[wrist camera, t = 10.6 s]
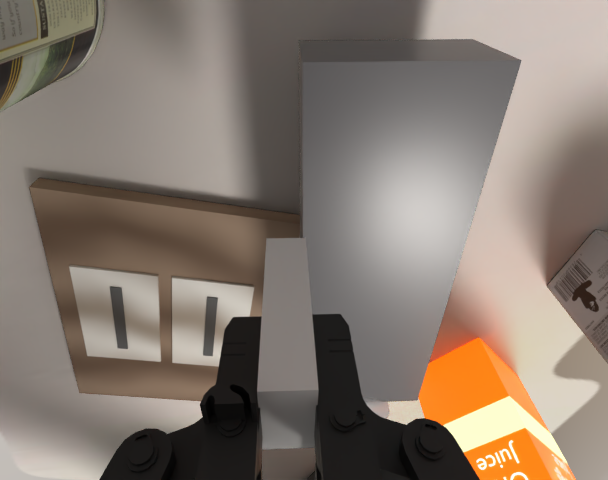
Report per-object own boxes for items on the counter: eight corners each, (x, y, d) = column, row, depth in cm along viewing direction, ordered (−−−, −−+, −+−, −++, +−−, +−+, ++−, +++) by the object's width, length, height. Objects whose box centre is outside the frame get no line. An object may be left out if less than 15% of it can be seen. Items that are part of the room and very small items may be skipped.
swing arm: (301, 379, 33) (303, 432, 29) (298, 40, 18) (302, 62, 14) (395, 375, 33) (408, 427, 29) (472, 39, 18) (521, 60, 14)
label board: (332, 399, 41) (335, 429, 38) (84, 381, 37) (69, 413, 35) (402, 229, 28) (414, 256, 26) (39, 177, 25) (10, 203, 22)
